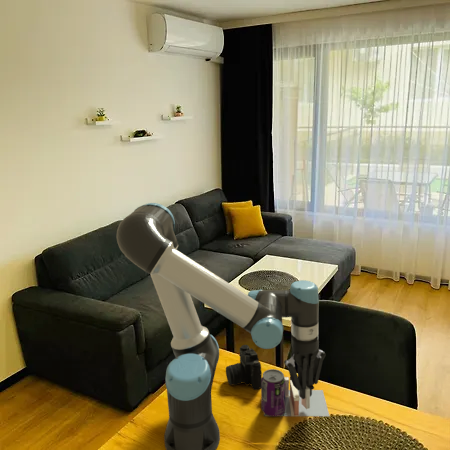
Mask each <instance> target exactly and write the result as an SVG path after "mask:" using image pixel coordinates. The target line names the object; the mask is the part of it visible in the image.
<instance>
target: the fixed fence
mask: <svg viewBox="0 0 450 450" xmlns="http://www.w3.org/2000/svg"><path fill="white" fill-rule="evenodd" d="M284 378H285V396H289V390H290V389H291V385H290V380H291V377H290V376H284Z"/></svg>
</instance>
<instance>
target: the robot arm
mask: <svg viewBox="0 0 450 450" xmlns="http://www.w3.org/2000/svg"><path fill="white" fill-rule="evenodd" d="M175 226H176V222H175V217H174V215H173V213H172V211H171V210H170V209H169V208H168V207H166V206H165V205H163V204H161V203H158V202H157V203H156V202H148V203H145V204H143V205H140V206H137V207H136V208H135V209H134V211H132V212H131V213H130V214H129V215H127V216H125V218H123V219H122V220H121V221H120V223H119V224H118V227H117V230H116V241H117V242H116V243H117V244H118V245H117V246H118V247H119V250H120V251H121V252H122V254H123V255H124V256H125V258H127V259H128V260H129V261H130V262H132V263H133V264H134V265H135V266H137V267H138V268H139V269H141V270H143V271H144V272H145V273H147V274H149V275H150V277H151V280H152V283H153V286H154V288H155V290H156V294H157V296H158V300H159V301H160V304H161V307H162V309H163V312H164V315H165V317H166V320H167V323H168V326H169V328H170V331H171V333H172V336H173V337H172V340H171V342H170V346H171V348H172V351H173V354H174V357H175V358H174V359H172V361H171V360H170V362H169V364H168V365H167V367H166V372H165V379H164V380H165V387H166V394H167V395H166V396H167V406H168V407H167V409H168V416H169V417H168V421H167V424H166V428H165V431H164V438H163V439H164V447H165V450H217V449H218V446H219V444H220V441H221V440H220V438H221V435H220V429H219V425H218V423H217V420H216V419H215V415H214V414H213V405H212V404H213V403H212V402H213V401H212V388H213V383H214V378H215V374H216V370H217V365H218V363H219V359H220V347H219V344H218V341H217V339H216V338H215V337H214V336H213V335H212V334H210V331H209V329H208V328H207V327H206V326H203V325H202V324H201V321H200V318H199V315H198V313H197V310H196V307H195V304H194V301H193V298H195V299H197V300H198V301H200V302H201V303H202V304H204V305H206V306H208V307H209V308H210V309H211V310H213V311H215V312H217V313H218V314H220V315H222V316H223V317H225V318H226V319H228V320H230V321H231V322H233V323H234V324H236V325H238V326H240V328H242V329H243V330H245V331H246V332H248V333H249V334H250V335H251V339H252V341H253V343H254V344H255V345H256V346H257V347H258V348H261V349H264V350H270V349H274V348H275V347H277V346H278V345H279V344H280V343H281V341H282V339H283V335H284V334H283V332H284V324H283V318H290V321H291V323H290V325H291V329H290V331H291V348H292V349H291V350H292V352H291V354H290V358H289V359H285V360H284V361H283V363H284V365H285V366H286V367H287V369H288V373H289V378H290V377H291V380H292V383H293V386H294V387H295V388H296V389H297V390H299V396H300V397H301V403H302V405H303V406H304V407H305V408H306V409H309V408H310V396H311V395H312V390H315V386H314V385H317V384H318V383H319V379H320V374H321V370H322V366H323V362H324V359H325V358H326V355H327V354H326V353H325V351H323V350H322V349H320V348H319V345H320V344H319V343H320V341H319V318H320V317H319V316H320V315H319V309H320V308H319V306H320V305H319V304H320V302H319V301H320V300H319V299H320V298H319V287H318V285H317V284H316V283H315V282H313V281H311V280H304V279H303V280H301V279H300V280H299V281H294V282H292V283H291V285H290V287H289V289H256V290H254V289H253V290H250V291H249V292H248V293H247V294H246V293H244V292H243V291H242V290H240V289H239V288H237V287H236V286H234V285H232V284H231V283H229V282H228V281H226V279H223V278H221V277H220V276H218V275H217V274H215V273H213V272H212V271H211V270H209V269H208V268H206V267H204V266H203V265H201V264H200V263H198V262H196V261H195V260H193V258H190V257H189V256H187V255H186V254H184V253H182V252H181V251H179V250H178V247H179V242H178V239H177V237H176V235H175ZM192 297H193V298H192ZM295 363H296V365H295ZM296 366H297V370H296Z"/></svg>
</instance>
